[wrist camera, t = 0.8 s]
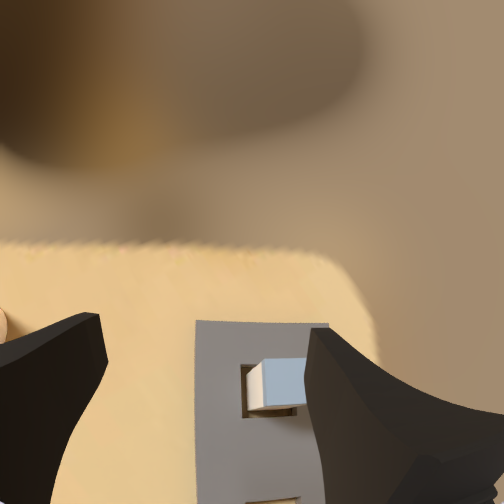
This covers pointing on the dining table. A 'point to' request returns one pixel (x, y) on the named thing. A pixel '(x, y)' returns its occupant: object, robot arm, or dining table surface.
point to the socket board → (250, 419)
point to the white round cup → (3, 327)
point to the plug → (276, 384)
